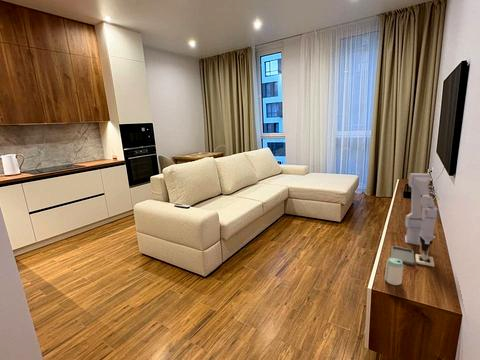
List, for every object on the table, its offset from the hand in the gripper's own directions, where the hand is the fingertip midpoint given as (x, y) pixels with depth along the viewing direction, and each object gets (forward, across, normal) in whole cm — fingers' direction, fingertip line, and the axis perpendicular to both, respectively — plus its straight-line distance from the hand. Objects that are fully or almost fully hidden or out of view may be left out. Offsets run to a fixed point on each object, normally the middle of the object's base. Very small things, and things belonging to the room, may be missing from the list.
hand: (424, 249), depth 145 cm
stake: (+4, -7, 0) cm, 8 cm away
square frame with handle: (+3, -5, 0) cm, 6 cm away
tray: (+4, -5, +10) cm, 12 cm away
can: (+4, -33, +14) cm, 36 cm away
